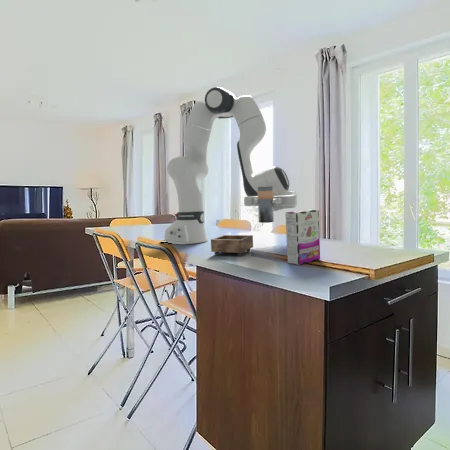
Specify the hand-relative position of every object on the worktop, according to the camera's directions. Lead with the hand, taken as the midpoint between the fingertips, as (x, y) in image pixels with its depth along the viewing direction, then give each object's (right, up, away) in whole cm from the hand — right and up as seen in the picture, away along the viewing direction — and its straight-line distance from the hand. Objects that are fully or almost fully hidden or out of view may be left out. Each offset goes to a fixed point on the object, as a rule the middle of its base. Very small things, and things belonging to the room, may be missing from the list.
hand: (264, 201), depth 131 cm
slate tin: (+1, -7, +2) cm, 8 cm away
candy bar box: (+11, -20, -16) cm, 28 cm away
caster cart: (-12, -19, +3) cm, 23 cm away
